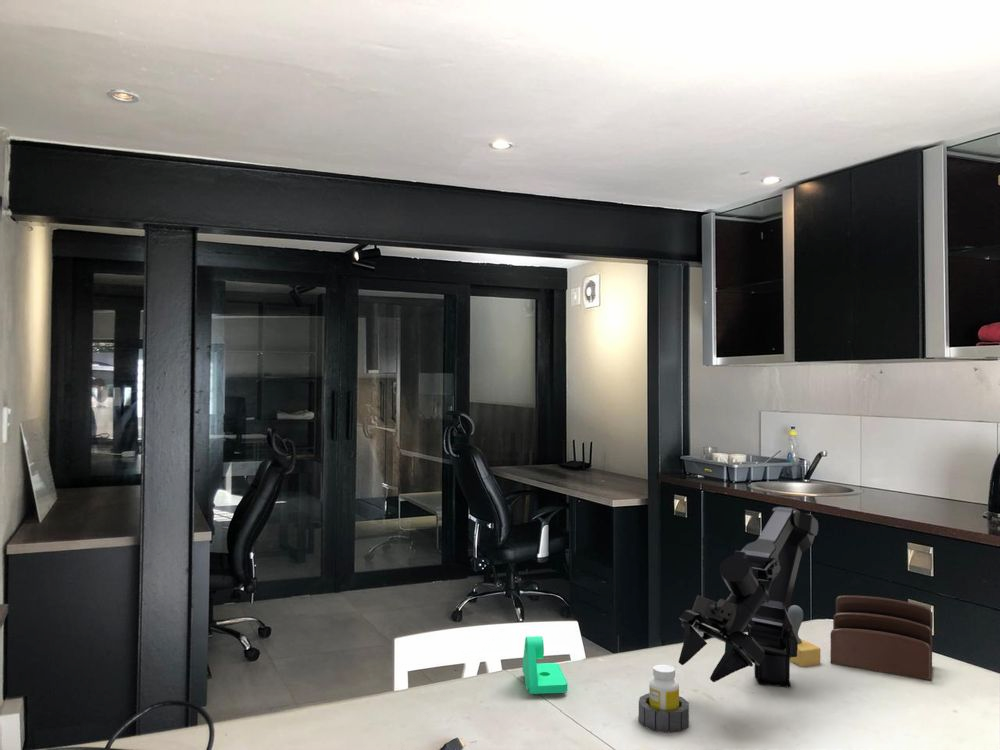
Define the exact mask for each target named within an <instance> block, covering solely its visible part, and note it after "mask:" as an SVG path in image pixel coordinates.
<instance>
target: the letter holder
mask: <svg viewBox="0 0 1000 750" xmlns="http://www.w3.org/2000/svg"><path fill="white" fill-rule="evenodd" d="M832 620H833V621H832V622H833V623H832V624H833V625H832V627H833V629H831V632H830V651H829V653H830V663H831V664H832V665H833V664H835V665H840V666H845V667H849V668H850V667H851V668H856V669H863V670H868V671H873V672H879V673H885V674H889V675H896V676H903V677H907V678H913V679H919V680H924V681H932V671H933V612H932V609H930V608H929V607H926V606H924V605H921V604H917V603H913V602H908V601H904V600H898V599H892V598H887V597H880V596H867V595H844V594H843V595H838V596H837V597H836V598H835V614H833V618H832Z"/></svg>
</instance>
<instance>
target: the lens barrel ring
mask: <svg viewBox="0 0 1000 750" xmlns="http://www.w3.org/2000/svg"><path fill="white" fill-rule="evenodd" d="M689 712H690V702H689V701H688V700H687V699H685V698H684V697H682V696H680V695H679V708H678V709H674V710H661V709H656V708H653V707H651V706H650V702H649V692H648V693H645V694H643V695H641V696H640V697H639V700H638V723H639V724H641V725H642V726H643V727H644V728H646V729H649V730H651V731H653V732H659V733H660V732H661V733H668V734H669V733H671V734H673V733H678V732H679V733H680V732H682V731H685V730H686V729H688V728H689V726H690V725H689V723H690V717H689V716H690V713H689Z"/></svg>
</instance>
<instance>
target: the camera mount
mask: <svg viewBox="0 0 1000 750" xmlns="http://www.w3.org/2000/svg"><path fill="white" fill-rule="evenodd" d="M543 638H544V637H543V636H542V635H539V636H525V638H524V640H525V641H524V648H523V657H522V658H523V659H522V673H523V676H524V683H525V686H526V690H527V692H529V694H530V695H532V694H533V695H534V694H537V695H538V694H561V693H563V694H564V693H567V692H568V680H567V679H566V677H565V674H564V673H563V671H562V669H561V667H560V665H559V663H556V662H545V663H537V660H540V659H541V660H542V659H544V657H545V656H544V655H545V654H544V653H545V647H544V646H545V645H544V644H545V643H544V639H543Z"/></svg>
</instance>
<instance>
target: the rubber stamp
mask: <svg viewBox="0 0 1000 750" xmlns="http://www.w3.org/2000/svg"><path fill="white" fill-rule="evenodd" d="M788 615H789V618H790V621H791V623H792V626H793V628H792V630H793V633H794V635H795V637H796V639H797V642H798V646H797V647H798V650H797V657H791V658H790V662H791V663H793V664H795V665H796V666H799V667H801V668H802V667H810V666H814V665H820V664H821V647H820V646H817V645H815V644H814V643H812V642H809V641H808V640H807V641H806V640H804V639H802V638H800V637H799V630H800V628H801V625H802V623H803V620H804V611H803V609H802V608H801V607H800V606H799V605H796V604H793V605H790V606H789V609H788Z"/></svg>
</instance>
